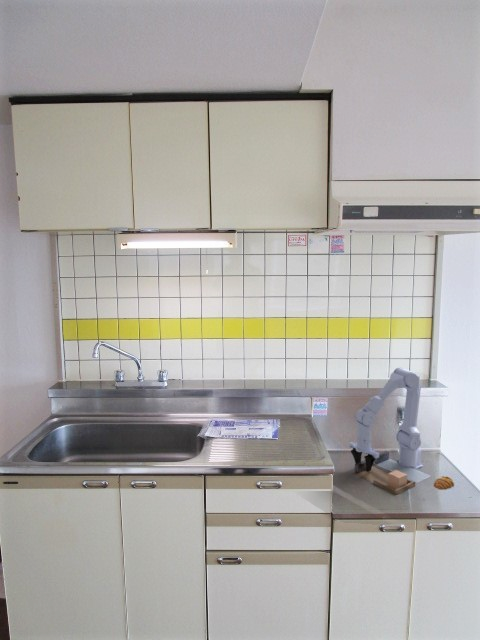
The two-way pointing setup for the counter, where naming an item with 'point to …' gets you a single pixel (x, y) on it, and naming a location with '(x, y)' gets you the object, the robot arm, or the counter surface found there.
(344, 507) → the counter surface
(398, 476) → the terracotta block
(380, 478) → the wooden tray
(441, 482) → the pastry
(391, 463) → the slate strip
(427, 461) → the counter surface
